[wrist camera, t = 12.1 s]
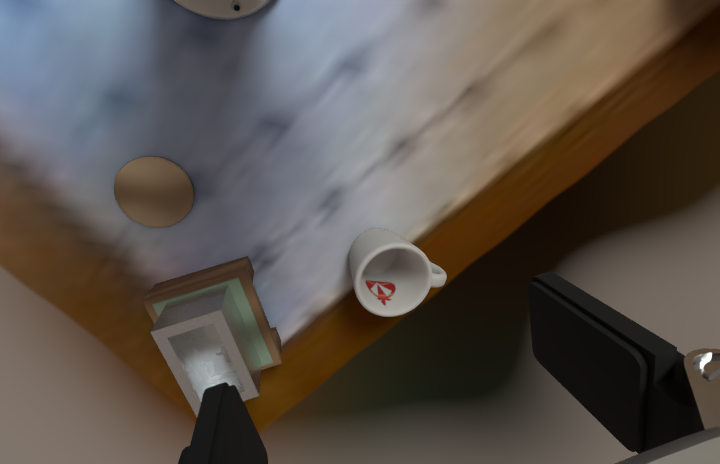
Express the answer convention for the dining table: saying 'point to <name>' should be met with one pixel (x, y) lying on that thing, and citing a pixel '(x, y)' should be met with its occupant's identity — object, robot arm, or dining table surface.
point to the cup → (391, 273)
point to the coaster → (154, 191)
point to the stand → (244, 295)
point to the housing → (208, 345)
